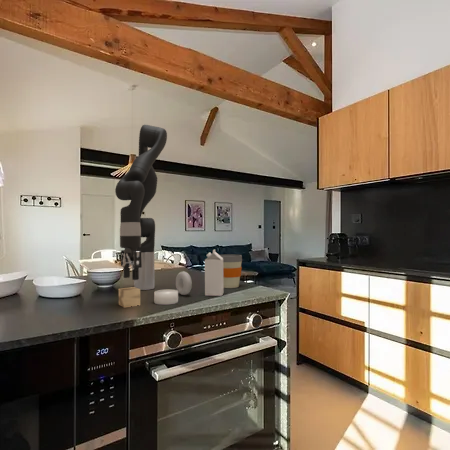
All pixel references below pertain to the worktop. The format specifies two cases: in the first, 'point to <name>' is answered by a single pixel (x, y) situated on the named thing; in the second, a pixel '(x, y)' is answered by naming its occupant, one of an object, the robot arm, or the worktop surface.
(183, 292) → the donut
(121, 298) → the maple cube
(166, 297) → the pedestal
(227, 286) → the reusable coffee cup
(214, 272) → the milk carton
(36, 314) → the worktop surface
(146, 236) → the robot arm
